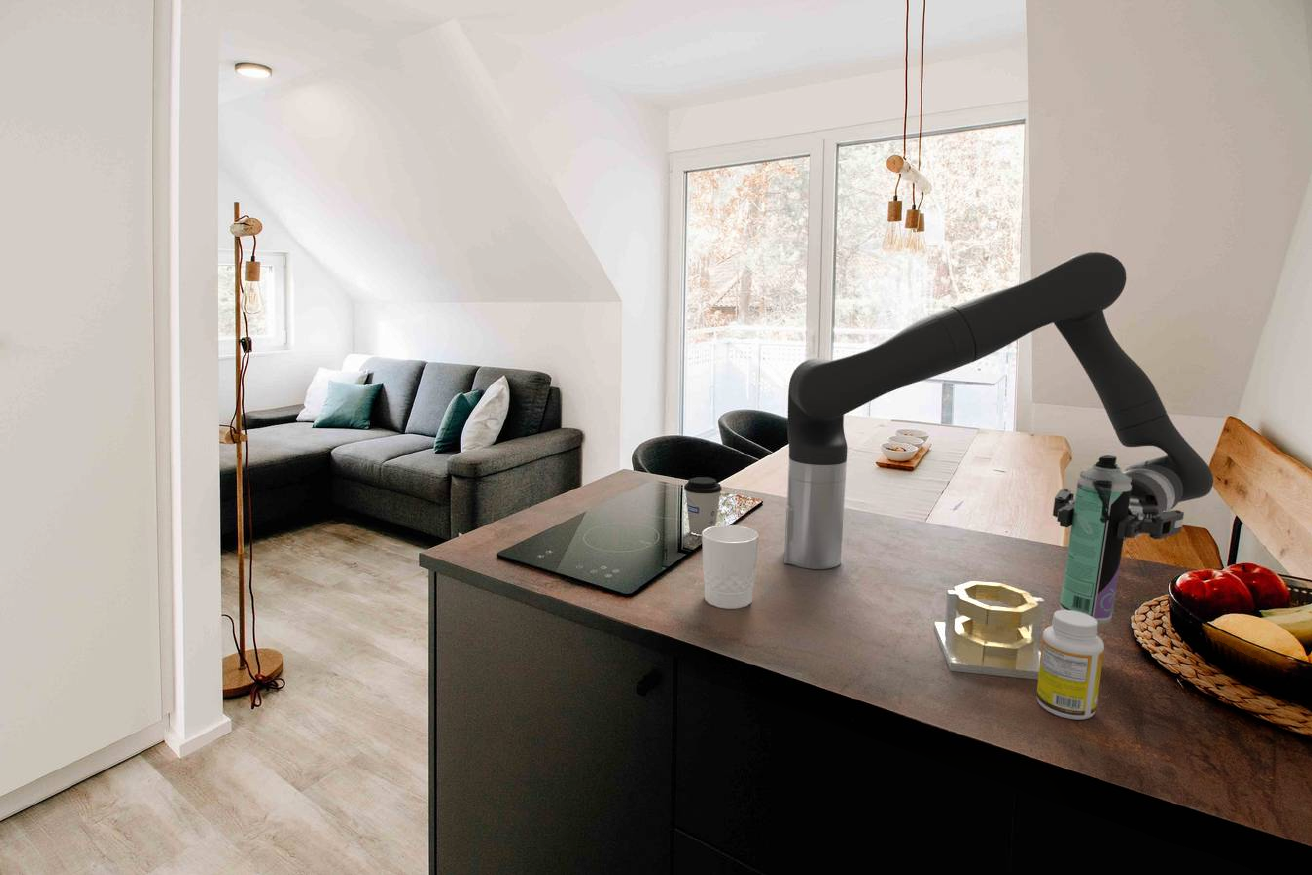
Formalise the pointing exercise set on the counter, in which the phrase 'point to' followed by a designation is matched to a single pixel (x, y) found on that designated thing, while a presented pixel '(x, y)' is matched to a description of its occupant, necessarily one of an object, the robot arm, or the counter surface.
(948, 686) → the counter surface
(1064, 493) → the robot arm
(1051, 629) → the supplement bottle
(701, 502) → the coffee cup
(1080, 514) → the spray can
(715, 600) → the white cup
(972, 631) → the collar stand
